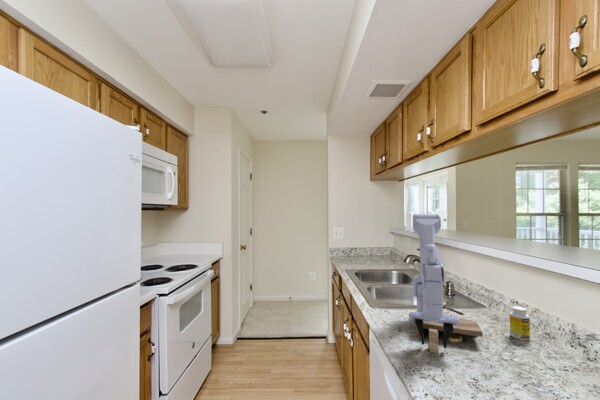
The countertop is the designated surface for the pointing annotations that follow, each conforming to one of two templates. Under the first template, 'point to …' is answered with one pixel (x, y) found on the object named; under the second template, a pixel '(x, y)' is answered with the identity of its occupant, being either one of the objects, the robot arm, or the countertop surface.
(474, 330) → the low wooden bench
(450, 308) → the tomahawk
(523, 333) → the supplement bottle
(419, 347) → the countertop surface
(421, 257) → the robot arm
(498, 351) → the countertop surface
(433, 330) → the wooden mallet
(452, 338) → the brass disc
